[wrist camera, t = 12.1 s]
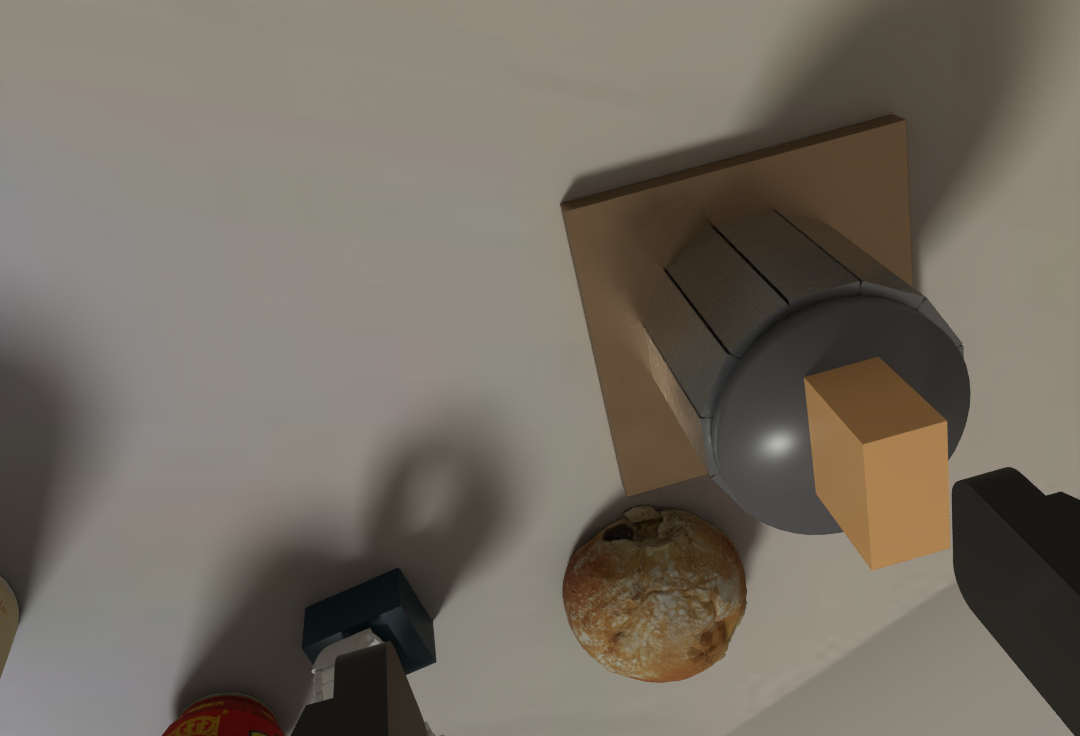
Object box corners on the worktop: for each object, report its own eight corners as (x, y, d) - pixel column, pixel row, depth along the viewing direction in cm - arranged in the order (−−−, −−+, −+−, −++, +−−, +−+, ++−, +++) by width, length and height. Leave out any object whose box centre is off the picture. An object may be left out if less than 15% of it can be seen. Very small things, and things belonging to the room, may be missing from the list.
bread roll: (688, 460, 56) (703, 488, 48) (771, 613, 57) (800, 666, 49) (538, 539, 57) (529, 579, 49) (621, 689, 58) (626, 753, 50)
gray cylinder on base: (559, 203, 44) (609, 286, 35) (893, 114, 45) (1025, 173, 36) (622, 484, 52) (675, 611, 43) (906, 404, 52) (1018, 513, 43)
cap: (683, 321, 38) (749, 414, 31) (934, 252, 38) (1053, 330, 32) (717, 527, 43) (781, 645, 36) (940, 464, 43) (1043, 570, 37)
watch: (359, 683, 55) (357, 855, 45) (289, 585, 51) (270, 749, 42) (449, 645, 55) (466, 809, 45) (385, 543, 51) (389, 699, 41)
